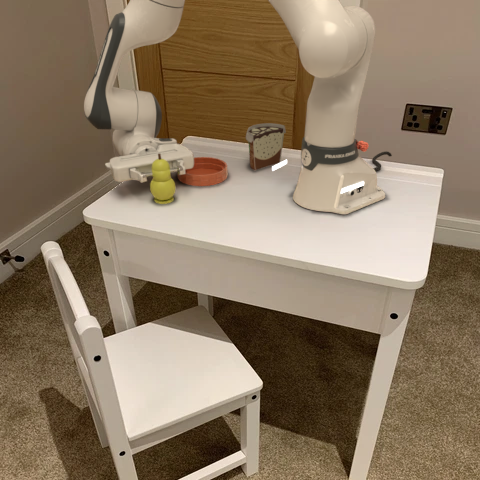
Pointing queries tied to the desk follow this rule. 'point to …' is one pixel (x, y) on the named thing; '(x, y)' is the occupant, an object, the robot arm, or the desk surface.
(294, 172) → the desk surface
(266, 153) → the food container
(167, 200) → the pear
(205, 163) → the dish
